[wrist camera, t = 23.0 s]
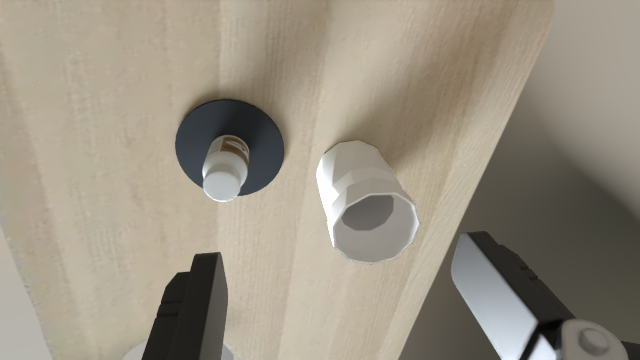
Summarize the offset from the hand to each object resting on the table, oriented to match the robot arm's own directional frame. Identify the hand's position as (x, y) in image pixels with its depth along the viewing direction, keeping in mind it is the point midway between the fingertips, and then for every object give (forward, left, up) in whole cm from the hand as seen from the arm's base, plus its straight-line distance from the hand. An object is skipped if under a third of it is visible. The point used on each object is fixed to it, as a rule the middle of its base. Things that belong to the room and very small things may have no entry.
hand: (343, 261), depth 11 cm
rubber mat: (-2, -11, -28) cm, 30 cm away
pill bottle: (-2, -11, -28) cm, 30 cm away
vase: (+12, -7, -28) cm, 32 cm away
